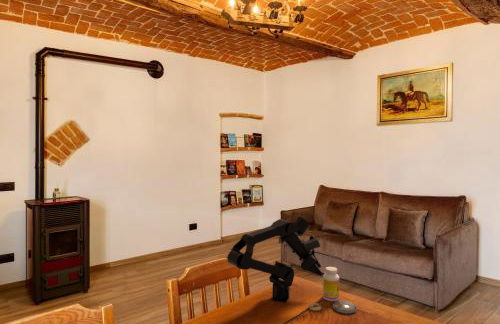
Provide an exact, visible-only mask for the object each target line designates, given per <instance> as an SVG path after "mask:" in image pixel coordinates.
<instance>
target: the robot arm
mask: <svg viewBox="0 0 500 324" xmlns="http://www.w3.org/2000/svg"><path fill="white" fill-rule="evenodd" d="M310 227H311V224H310V222H308V221H307V220H306V219H304V217H303V216H298V217H297V219H296V220H295V221H294V222H292V221H289V220H285V219H282V218H279V219H276V220H275V221H273V222H272V224H271V225H269V226H267V227H263V228H260V229H257V230H254V231H252V232H248V233H243V235H242V236H241V238H240V239H239V240H238V241H237V242H236V243H234V245H233V247H231V250H230V251H229V253H228V254H227V258H226V260H227V263H228V264H230V265H232V267H235V268H237V269H238V270H247V271H248V270H250V269H251V270H256V271H259V272H262V273H267V274H270V276H269V277H268V279H269V282H270V283H272V296H271V301H274V302H279V303H280V302H282V303H287V302H288V300H289V299H290V297H291V288H290V287H292V285H293V281H294V278H295V270H294V268H292V266H291V265H289V264H286V263H284V262H281V261H277V260H275V262H274V264H273V263H270V262H266V261H262V260H259V259H255V258H253V256H254V255H253V254H254V248H255V246H256V245H257V244H259V243H261V242H264V241H267V240H270V239H273V238H275V237H278V244H279V245H280V244H283V243H284V244H285V245H286V246H288V247H289V248H290V250H291V252H292V253H293V254H295V255H296V256H297V257H298V259H299V261H300V267H301V269H302V270H303V271H307V272H310V273H313V274H315V275H317V276H320V277H321V276H322V277H323V275H324V274H323V272H322V271H321V269H320V268H322V265H321V264H320V262H319V260H318V259H317V257H316V254H315V249H319V248H321V243H320V241H319V237H318V236H314V235H313V234H311V235H310V236H309V238H308V239H307V240H306V241H305V240H304V239H301V238H300V237H303V236H304V234H305V233H306V232H307V231H308V230H309V228H310ZM244 248H245V251H244V253H243V252H242V251H241V250H243V249H244Z"/></svg>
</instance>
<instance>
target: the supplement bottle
mask: <svg viewBox="0 0 500 324" xmlns="http://www.w3.org/2000/svg"><path fill="white" fill-rule="evenodd" d="M337 273H338V268H337V267H335V266H327V267H325V273H324V274H323V275H322V277H323V278H322V298H323V299H324V301H325V300H326V301H327V302H337V301H339V299H340V276H339V274H337Z"/></svg>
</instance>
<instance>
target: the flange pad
mask: <svg viewBox="0 0 500 324" xmlns="http://www.w3.org/2000/svg"><path fill="white" fill-rule="evenodd" d="M332 309H333V311H335V312H336V313H338V314H341V315H353V314H355V313H356V312H357V306H356V305H355V304H354V303H352V302H351V301H348V300H337V301H334V302H333V303H332Z"/></svg>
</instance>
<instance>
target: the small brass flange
mask: <svg viewBox="0 0 500 324" xmlns="http://www.w3.org/2000/svg"><path fill="white" fill-rule="evenodd" d="M308 309H309V310H310V311H312V312H321V311H322V309H323V308H322V305H321V304H320V303H317V302H311V303H309V304H308Z"/></svg>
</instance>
